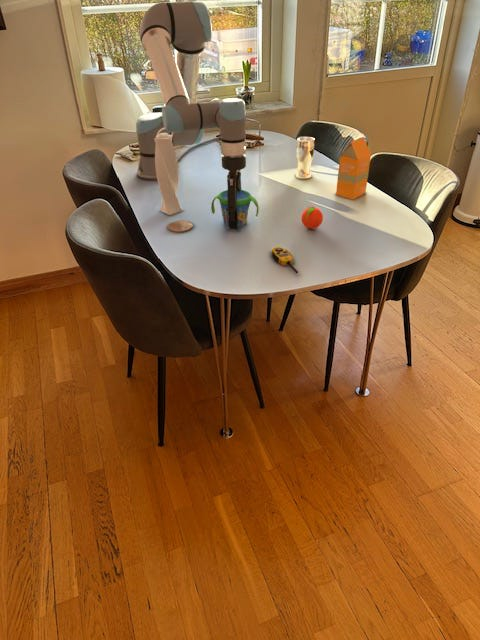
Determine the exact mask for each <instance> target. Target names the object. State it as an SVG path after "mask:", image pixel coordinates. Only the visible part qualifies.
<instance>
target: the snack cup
mask: <svg viewBox="0 0 480 640" xmlns="http://www.w3.org/2000/svg"><path fill="white" fill-rule="evenodd" d="M215 200H218V201H219V204H220V209H221V214H222V219H223V220H222V221H223V224H224V225H225V226H226V227H227V228H229V211H226V209H227V208H228V189H226V190H223V191H220V192H219V194H216V195H215V196H214V197H213V199H212V200H211V201H212V202H211V209H210V210H211V213H212V214H213V215H214V214H215V213H216V208H215ZM251 202H253V204H254V206H255V207H256V211H255V212H256V214H255V218H257V217H258V214H259V211H260V209H259V208H260V206H259V203H258V200H257V199H256V198H255V197H253V196H252V194H251V193H250V192H249V191H247V190H245V189H241V190H240V191H237V201H236V206H237V207H236V208H237V224H238V229H239V228H241V227H244V226H245V225H246V224H247V222H248V214H249V209H250V204H251Z"/></svg>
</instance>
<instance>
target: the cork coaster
mask: <svg viewBox="0 0 480 640" xmlns="http://www.w3.org/2000/svg"><path fill="white" fill-rule="evenodd" d="M167 228H168V230H169V231H170V232H173V233H185V232H188V231H190V230H192V229H193V224H192V222H190V221H187V220H177V221H173V222H170V223H169V224H168V225H167Z"/></svg>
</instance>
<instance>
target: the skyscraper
mask: <svg viewBox="0 0 480 640" xmlns="http://www.w3.org/2000/svg"><path fill="white" fill-rule="evenodd" d="M163 129H165V128H161V129H160V130H159V131H158V133H157V136H156V137H155V138H154V140H155V143H156V146H155V168H156V175H157V180H156V181H157V184H158V187H159V191H160V194H161V197H162V198H161V205H160V206H161V208H160V212H162V213H164V214H166V215H169V216H172V215H175V214H177V213H180V212H183V210H182V207H181V204H180V201H179V199H178V196H177V193H178V189H179V188H178V186H179V174H180V173H179V163H178V162H179V161H177V159H178V157H177V153H176V150H175V147H173V144H172V137H173V132H172V134H171V135H168V133H160V134H159V132H160V131H161V130H163ZM158 134H159V135H158Z"/></svg>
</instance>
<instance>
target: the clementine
mask: <svg viewBox="0 0 480 640" xmlns="http://www.w3.org/2000/svg"><path fill="white" fill-rule="evenodd" d="M300 218H301V219H300V220H301V223H302V225H303V226H304V227H305V228H307V229H311V230H314V229H317V228H319V227H320V226H321V225H322V223H323V221H324V215H323V212H322V211H321V209H319V208H318V207H316V206H309V207H307V208H306V209H304V210H303V211H302V214H301V217H300Z"/></svg>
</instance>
